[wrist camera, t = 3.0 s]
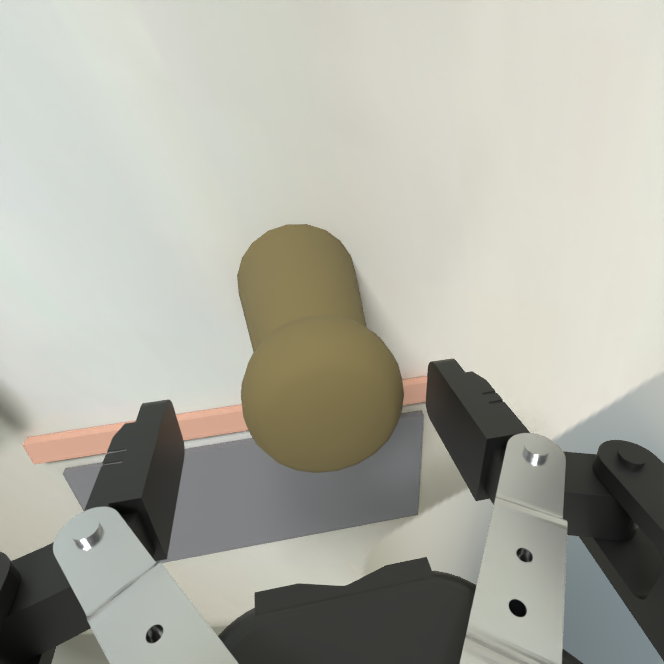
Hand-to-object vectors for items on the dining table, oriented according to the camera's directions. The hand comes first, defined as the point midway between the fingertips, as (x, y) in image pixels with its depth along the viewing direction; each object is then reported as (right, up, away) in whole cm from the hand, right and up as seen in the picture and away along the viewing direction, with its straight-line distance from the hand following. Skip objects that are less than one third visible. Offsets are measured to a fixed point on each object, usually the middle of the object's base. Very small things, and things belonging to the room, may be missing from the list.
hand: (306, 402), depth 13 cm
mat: (-4, -9, +16) cm, 18 cm away
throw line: (-4, -3, +12) cm, 13 cm away
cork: (-1, +5, +9) cm, 10 cm away
